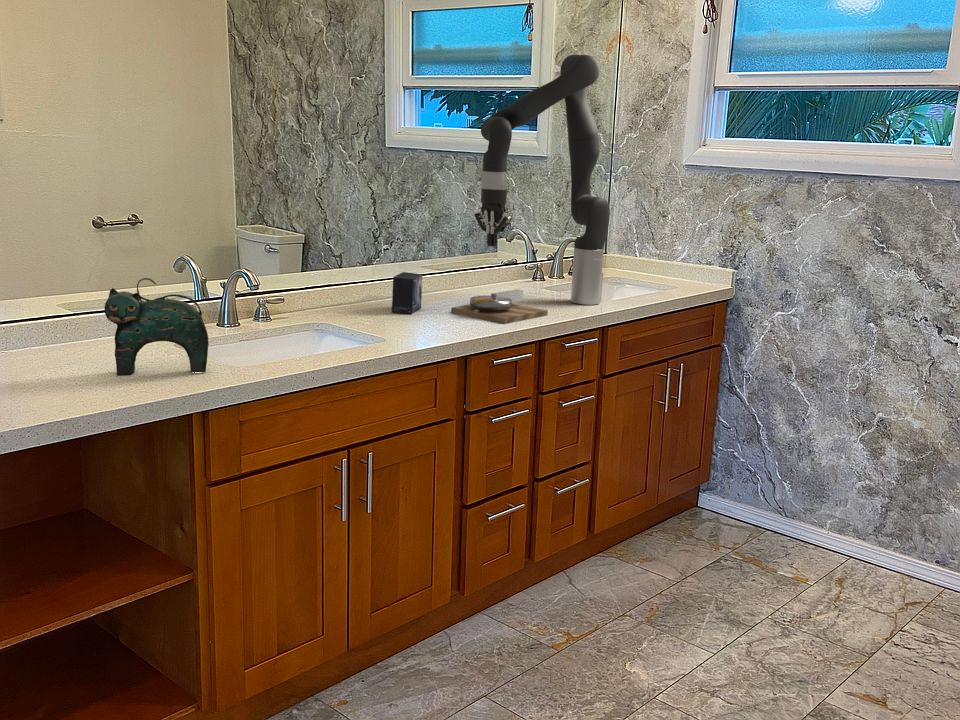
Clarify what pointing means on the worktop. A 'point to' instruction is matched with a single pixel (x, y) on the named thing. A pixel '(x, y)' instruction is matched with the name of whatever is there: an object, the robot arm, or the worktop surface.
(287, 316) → the worktop surface
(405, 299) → the small box
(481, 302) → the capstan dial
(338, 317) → the worktop surface
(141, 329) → the ceramic cat
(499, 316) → the stand
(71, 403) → the worktop surface
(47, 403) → the worktop surface
